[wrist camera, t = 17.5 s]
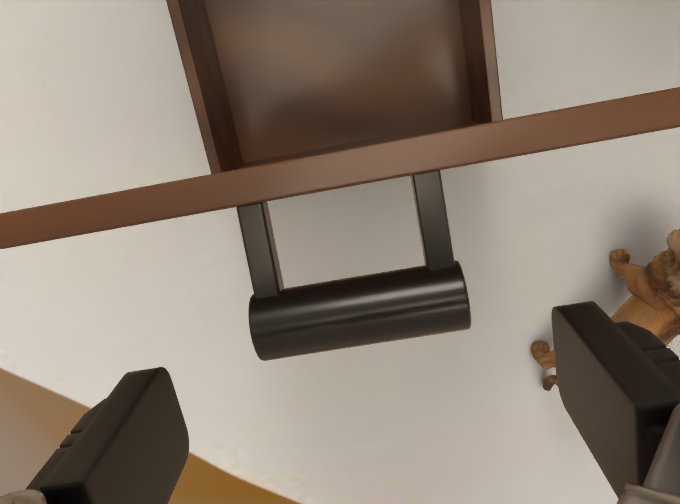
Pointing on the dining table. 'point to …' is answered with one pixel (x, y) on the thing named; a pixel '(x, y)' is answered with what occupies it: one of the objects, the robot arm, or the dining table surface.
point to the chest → (332, 73)
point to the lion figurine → (639, 299)
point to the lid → (337, 172)
